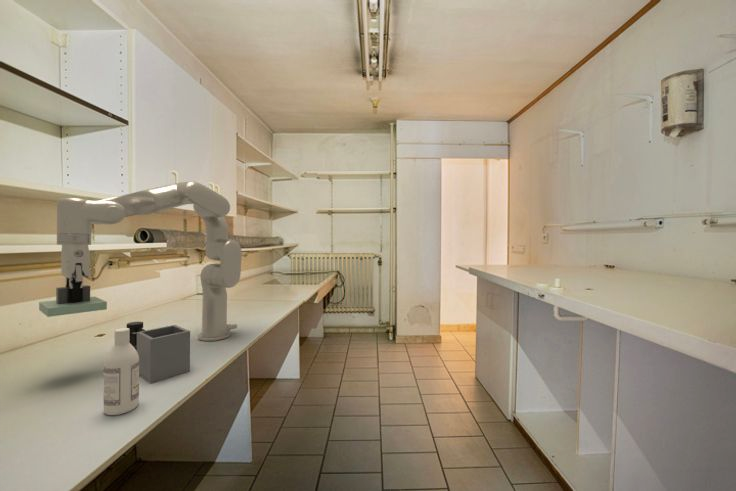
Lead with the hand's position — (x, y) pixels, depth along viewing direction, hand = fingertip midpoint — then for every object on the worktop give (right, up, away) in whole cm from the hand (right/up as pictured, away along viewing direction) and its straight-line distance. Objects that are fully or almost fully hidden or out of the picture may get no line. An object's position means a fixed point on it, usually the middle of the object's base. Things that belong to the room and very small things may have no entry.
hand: (73, 300), depth 93 cm
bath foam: (+26, -25, -15) cm, 39 cm away
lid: (0, -3, 0) cm, 3 cm away
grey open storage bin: (+23, -24, +6) cm, 34 cm away
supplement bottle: (+5, -23, +18) cm, 30 cm away
